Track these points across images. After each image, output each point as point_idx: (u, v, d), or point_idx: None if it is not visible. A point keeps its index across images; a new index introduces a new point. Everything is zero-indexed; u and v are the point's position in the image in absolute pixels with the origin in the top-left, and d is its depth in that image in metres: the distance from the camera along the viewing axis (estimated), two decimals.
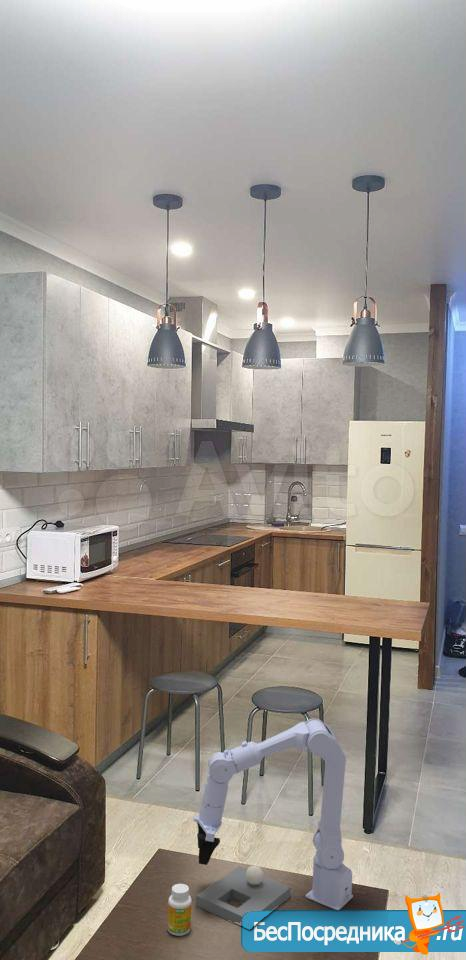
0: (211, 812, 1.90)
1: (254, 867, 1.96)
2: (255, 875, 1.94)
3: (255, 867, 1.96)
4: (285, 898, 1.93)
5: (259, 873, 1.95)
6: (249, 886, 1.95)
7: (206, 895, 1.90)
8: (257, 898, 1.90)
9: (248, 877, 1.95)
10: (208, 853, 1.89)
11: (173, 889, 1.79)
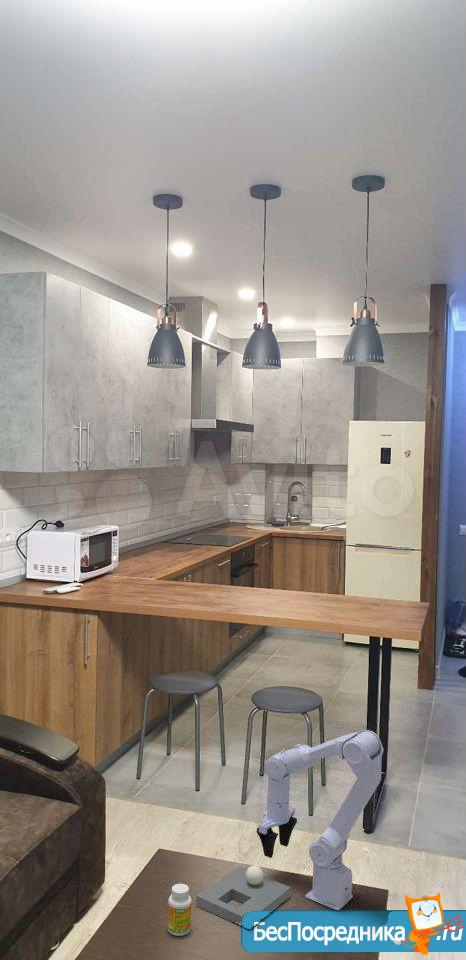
0: (270, 808, 2.02)
1: (254, 867, 1.96)
2: (255, 875, 1.94)
3: (255, 867, 1.96)
4: (285, 898, 1.93)
5: (259, 873, 1.95)
6: (249, 886, 1.95)
7: (206, 895, 1.90)
8: (257, 898, 1.90)
9: (248, 877, 1.95)
10: (270, 846, 2.00)
11: (173, 889, 1.79)
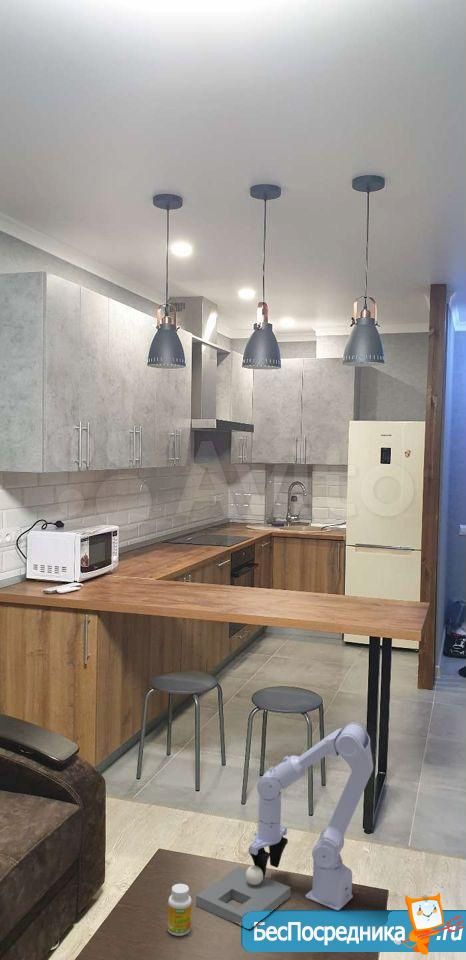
0: (261, 828, 1.99)
1: (254, 867, 1.95)
2: (255, 875, 1.94)
3: (255, 867, 1.96)
4: (285, 898, 1.93)
5: (259, 874, 1.94)
6: (249, 886, 1.95)
7: (206, 895, 1.90)
8: (257, 898, 1.90)
9: (248, 878, 1.94)
10: (262, 866, 1.97)
11: (173, 889, 1.79)
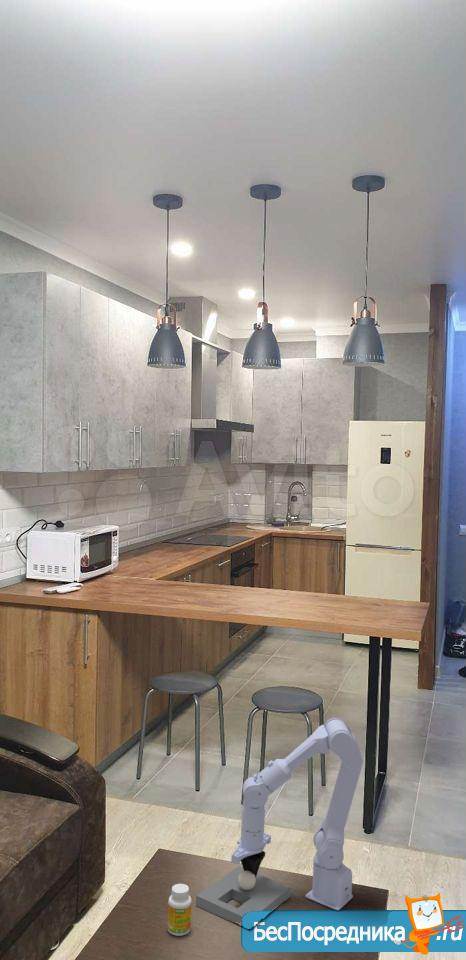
0: (244, 836, 1.93)
1: (241, 884, 1.92)
2: (247, 889, 1.92)
3: (242, 883, 1.92)
4: (285, 898, 1.93)
5: (249, 885, 1.92)
6: None
7: (206, 895, 1.90)
8: (257, 898, 1.90)
9: None
10: (251, 871, 1.94)
11: (173, 889, 1.79)
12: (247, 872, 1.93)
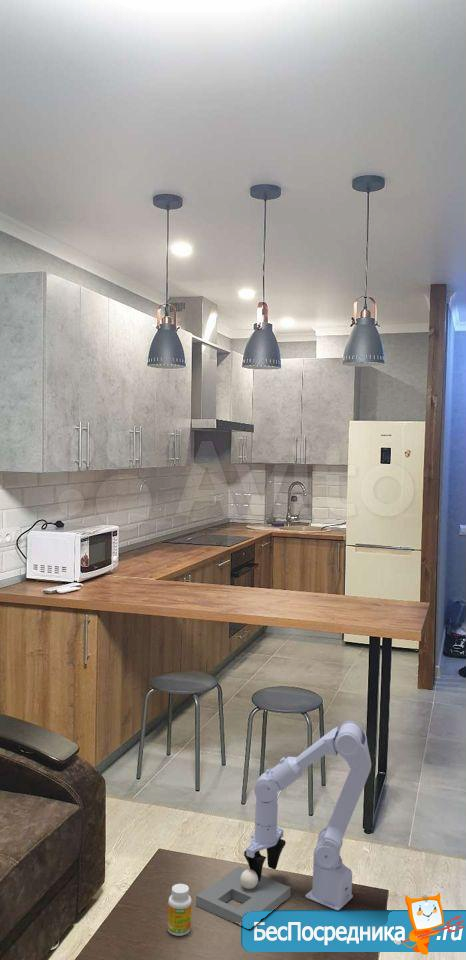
0: (258, 830, 1.97)
1: (244, 879, 1.92)
2: (248, 886, 1.92)
3: (245, 879, 1.92)
4: (285, 898, 1.93)
5: (251, 883, 1.92)
6: None
7: (206, 895, 1.90)
8: (257, 898, 1.90)
9: None
10: (257, 870, 1.96)
11: (173, 889, 1.79)
12: (251, 870, 1.94)
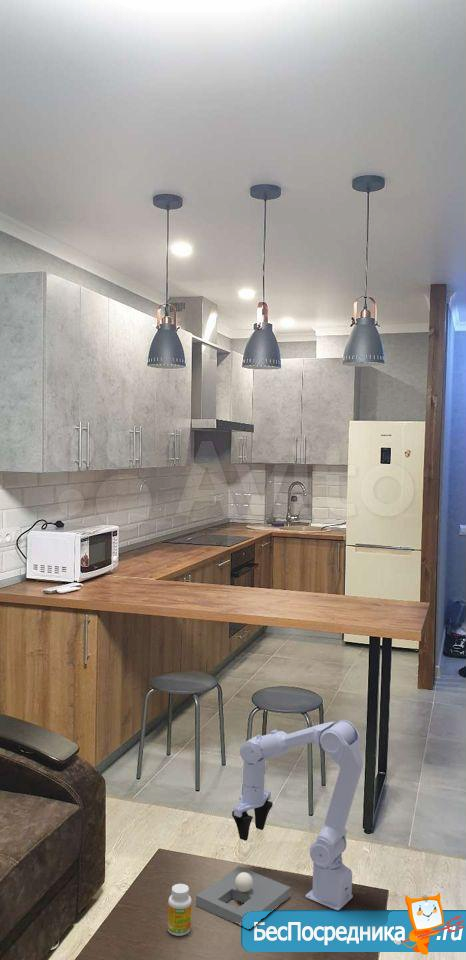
0: (246, 791, 2.05)
1: (239, 890, 1.91)
2: (246, 891, 1.92)
3: (240, 889, 1.91)
4: (285, 898, 1.93)
5: (247, 889, 1.91)
6: None
7: (206, 895, 1.90)
8: (257, 898, 1.90)
9: None
10: (245, 829, 2.03)
11: (173, 889, 1.79)
12: (241, 878, 1.91)
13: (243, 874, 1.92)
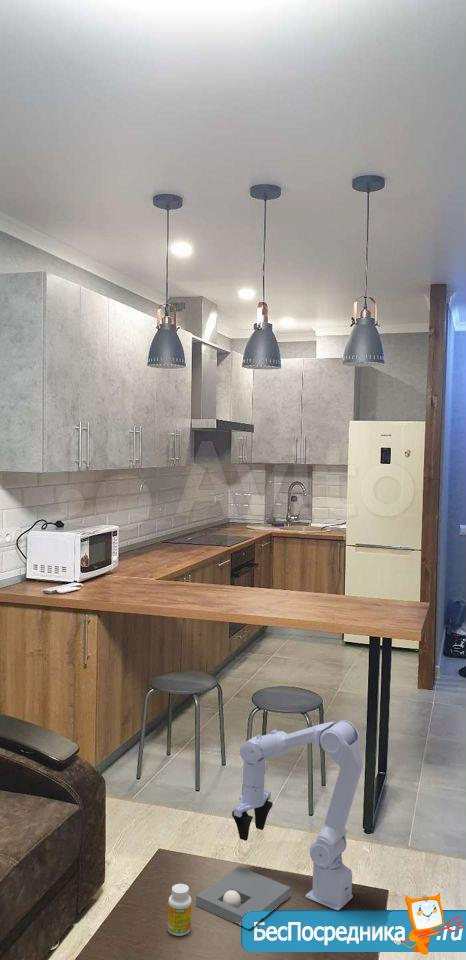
0: (246, 791, 2.05)
1: None
2: (239, 895, 1.89)
3: None
4: (285, 898, 1.93)
5: (240, 899, 1.89)
6: (249, 886, 1.95)
7: (206, 895, 1.90)
8: (257, 898, 1.90)
9: (231, 890, 1.89)
10: (245, 829, 2.03)
11: (173, 889, 1.79)
12: None
13: None
